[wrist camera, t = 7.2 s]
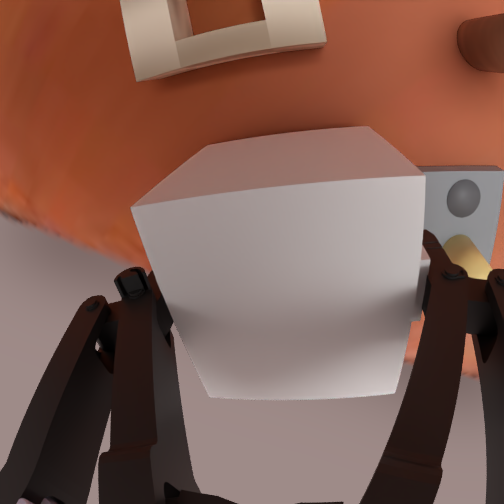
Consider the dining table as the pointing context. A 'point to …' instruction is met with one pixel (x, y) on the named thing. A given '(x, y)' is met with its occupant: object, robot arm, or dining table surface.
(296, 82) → the dining table surface
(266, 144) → the white cube block
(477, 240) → the board
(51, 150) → the dining table surface
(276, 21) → the socket board
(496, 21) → the peg
